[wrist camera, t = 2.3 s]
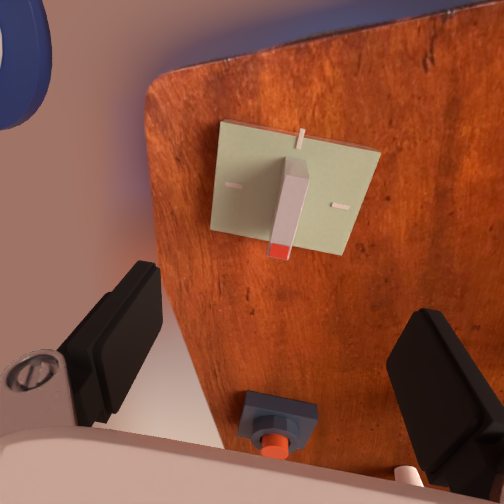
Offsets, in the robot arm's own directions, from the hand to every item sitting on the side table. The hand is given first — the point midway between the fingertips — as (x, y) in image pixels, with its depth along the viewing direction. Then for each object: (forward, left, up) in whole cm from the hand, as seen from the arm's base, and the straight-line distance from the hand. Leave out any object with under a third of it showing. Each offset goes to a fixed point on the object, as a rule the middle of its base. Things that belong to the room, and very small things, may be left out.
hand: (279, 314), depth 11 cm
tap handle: (0, 0, -15) cm, 15 cm away
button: (+6, -34, -13) cm, 37 cm away
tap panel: (0, 0, -17) cm, 17 cm away
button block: (+6, -34, -16) cm, 38 cm away
